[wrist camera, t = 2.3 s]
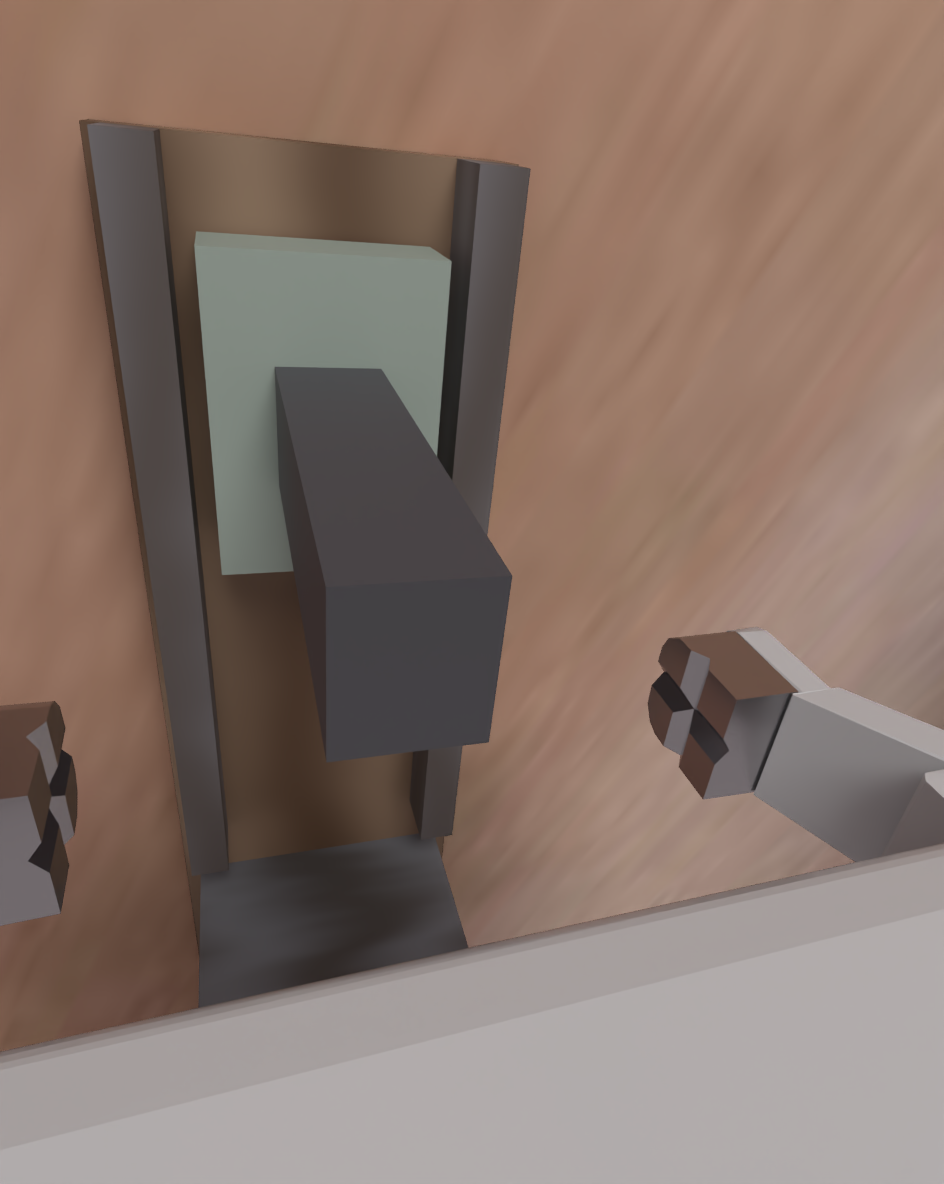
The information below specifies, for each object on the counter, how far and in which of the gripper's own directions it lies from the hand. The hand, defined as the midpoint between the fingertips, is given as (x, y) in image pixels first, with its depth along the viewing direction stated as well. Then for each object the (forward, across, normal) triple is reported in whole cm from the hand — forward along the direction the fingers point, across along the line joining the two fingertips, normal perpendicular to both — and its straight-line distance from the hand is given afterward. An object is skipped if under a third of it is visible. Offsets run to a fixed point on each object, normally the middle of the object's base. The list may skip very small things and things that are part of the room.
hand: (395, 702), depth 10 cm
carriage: (+13, -1, 0) cm, 13 cm away
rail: (+14, -1, +10) cm, 17 cm away
